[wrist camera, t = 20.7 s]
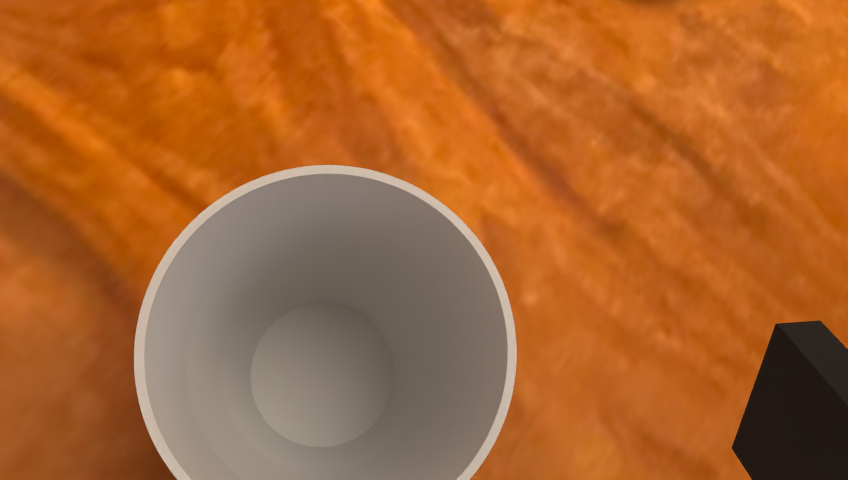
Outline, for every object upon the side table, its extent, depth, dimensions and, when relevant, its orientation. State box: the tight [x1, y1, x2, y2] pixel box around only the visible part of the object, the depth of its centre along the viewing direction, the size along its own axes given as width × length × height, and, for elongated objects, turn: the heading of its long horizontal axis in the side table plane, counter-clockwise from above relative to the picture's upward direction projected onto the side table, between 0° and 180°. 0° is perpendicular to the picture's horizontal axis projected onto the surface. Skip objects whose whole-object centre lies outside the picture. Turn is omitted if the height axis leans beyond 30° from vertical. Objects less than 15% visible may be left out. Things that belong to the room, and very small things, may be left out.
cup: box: [134, 165, 517, 480], centre depth 21 cm, size 8×8×10 cm
